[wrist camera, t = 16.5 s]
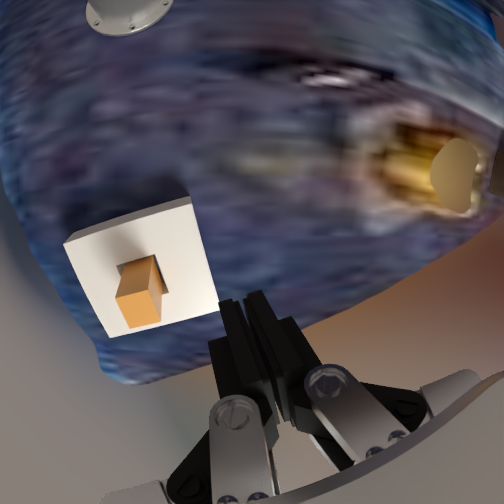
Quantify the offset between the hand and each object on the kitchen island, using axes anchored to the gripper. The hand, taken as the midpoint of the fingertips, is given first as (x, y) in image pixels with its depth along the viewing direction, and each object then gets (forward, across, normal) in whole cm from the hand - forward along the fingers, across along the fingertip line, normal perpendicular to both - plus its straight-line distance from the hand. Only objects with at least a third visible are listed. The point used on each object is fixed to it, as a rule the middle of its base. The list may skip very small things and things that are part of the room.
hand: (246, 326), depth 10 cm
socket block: (+29, +10, +9) cm, 32 cm away
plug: (+28, +10, +9) cm, 31 cm away
